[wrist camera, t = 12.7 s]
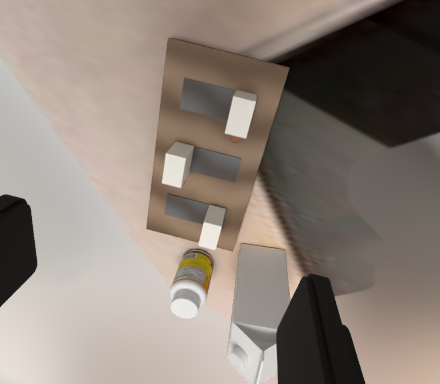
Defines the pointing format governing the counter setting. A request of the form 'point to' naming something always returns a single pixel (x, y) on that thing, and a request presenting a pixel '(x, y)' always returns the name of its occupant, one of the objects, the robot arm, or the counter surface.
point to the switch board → (210, 137)
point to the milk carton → (257, 311)
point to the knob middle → (177, 164)
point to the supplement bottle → (191, 283)
